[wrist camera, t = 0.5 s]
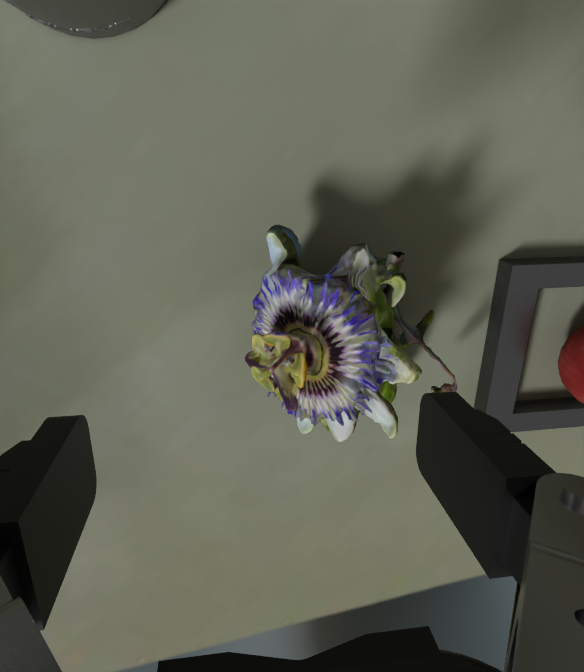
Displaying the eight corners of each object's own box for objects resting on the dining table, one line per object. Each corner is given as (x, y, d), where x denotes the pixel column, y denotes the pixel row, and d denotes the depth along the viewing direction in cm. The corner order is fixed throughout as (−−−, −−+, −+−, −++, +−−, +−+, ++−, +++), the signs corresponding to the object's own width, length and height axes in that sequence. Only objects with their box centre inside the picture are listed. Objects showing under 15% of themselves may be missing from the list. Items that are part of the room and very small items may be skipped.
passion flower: (263, 286, 34) (207, 220, 22) (417, 257, 33) (443, 169, 21) (286, 446, 32) (237, 465, 20) (451, 422, 31) (501, 428, 19)
